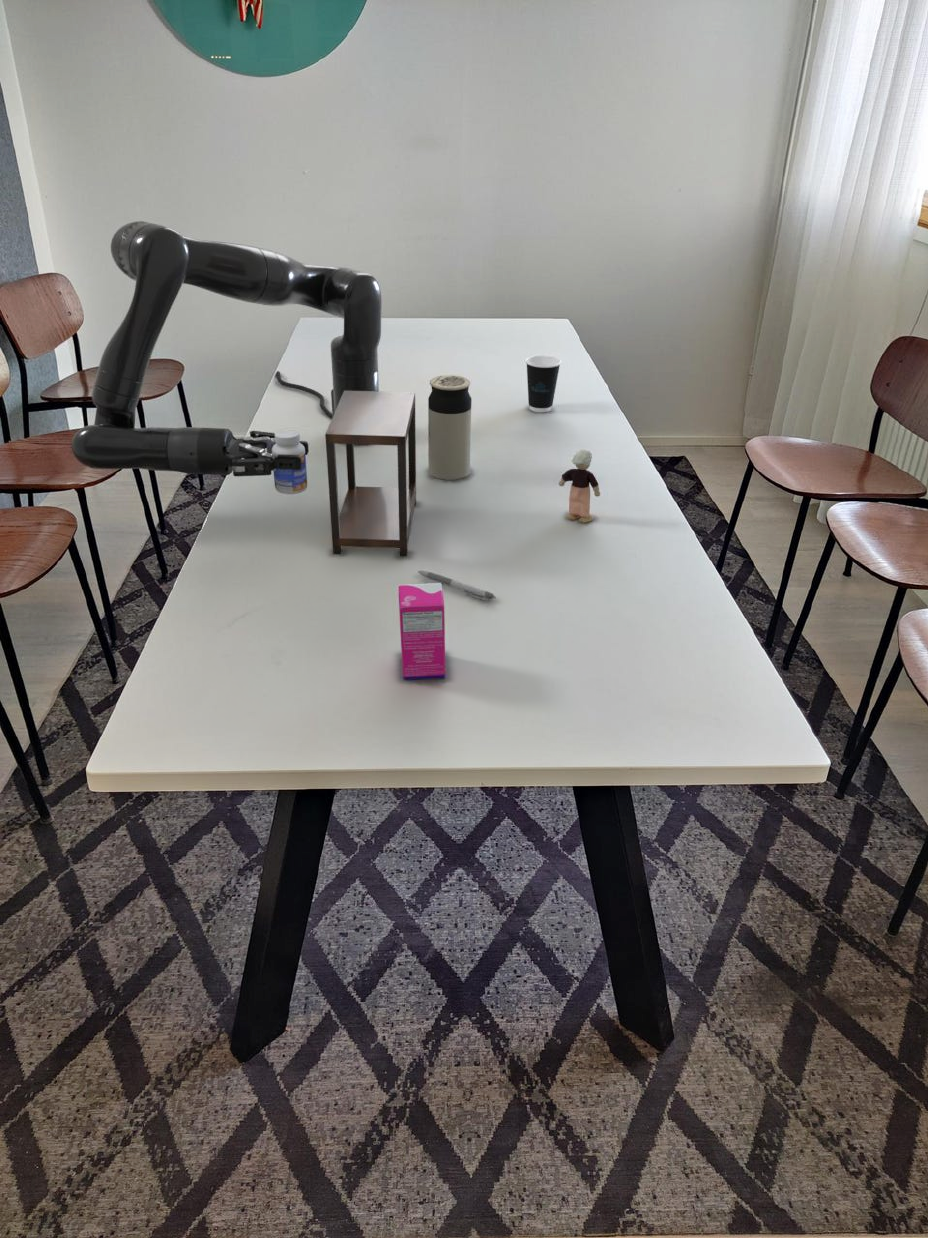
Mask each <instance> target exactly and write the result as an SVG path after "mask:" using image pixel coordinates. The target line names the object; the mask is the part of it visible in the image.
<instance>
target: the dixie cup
mask: <svg viewBox="0 0 928 1238" xmlns="http://www.w3.org/2000/svg"><path fill="white" fill-rule="evenodd" d="M524 362H525V364H526V378H527V379H526V380H527V397H528V398H527V399H528V401H527V402H528V405H529V410H530V411H532V412H534V413H548V412H550V411H552V406H553V405H554V399H555V393H556V389H557V381H558V376H559V372H560V366H561V365H562V360H561V359H559V358H558V357H555V356H550V355H533V356H529V357H527V358H526V359H525V361H524Z"/></svg>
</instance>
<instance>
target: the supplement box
mask: <svg viewBox="0 0 928 1238" xmlns="http://www.w3.org/2000/svg"><path fill="white" fill-rule="evenodd" d="M442 585H443V583H441V582H431V583H409V584H407V583H406V584H398V611H399V612H398V613H399V615H398V616H399V633H400V634H399V635H400V651H401V665H402V679H403V680H404V681H405V680H427V679H428V680H429V679H430V680H433V679H446V676H447V675H446V674H447V673H446V671H447V670H446V629H445V627H446V624H445V623H446V620H445V599H444V592H443V586H442Z"/></svg>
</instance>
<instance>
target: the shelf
mask: <svg viewBox="0 0 928 1238" xmlns="http://www.w3.org/2000/svg"><path fill="white" fill-rule="evenodd" d="M416 425H417V423H416V392H409V391H408V392H407V391H406V392H405V391H379V392H378V391H345V390H344V392H343V394H342V397H341V399H340V401H339V404H338V406H337V408H336V411H335V413H334V415H333V418H331V420H330V422H329V424H328V427H327V429H326V432H325V434H324V435H325V437H324V438H325V451H326V452H325V453H326V467H327V481H328V496H329V512H330V527H331V542H332V543H331V544H332V555H341V554H342V547H349V548H374V549H375V548H377V549H379V548H380V549H399V557H402V558H403V557H404V558H406V557H408V554H409V553H408V551H409V550H408V545H409V539H410V533H411V528H412V522H413V516H414V512H415V511H414V510H415V507H416V505H417V446H416V445H417V444H416V443H417V441H416V440H417V438H416V437H417V435H416V432H417V431H416V429H417V428H416V427H417V426H416ZM354 444H359V445H362V446H363V445H365V446H366V445H367V446H370V445H371V446H396V447H397V487H389V486H388V487H387V486H357V484H356V465H355V445H354ZM336 445H345V454H346V473H347V492H346V493H345V494H346V495H345V498H344V501H343V504H342V506H341V510H340V505H339V502H340V501H339V488H338V487H339V486H338V472H337V471H338V469H337V453H336ZM407 447H408V448H407ZM407 451H408V453H407ZM407 454H408V460H407ZM407 461H408V487H407Z"/></svg>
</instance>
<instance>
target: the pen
mask: <svg viewBox="0 0 928 1238" xmlns="http://www.w3.org/2000/svg"><path fill="white" fill-rule="evenodd" d="M417 573H418V574H419V575H421V576H422V577H424V578H427V579H430V580H432V581H435V582H437V583H441V584H444V585H447V586H450V587H453V588H457V589H460V590H463V592H464V593H466V594H467V595H469V596H471V597H473V598H476V599H479V600H483V601H490V600H492V599H496V597H497V596H496V595H495V594H494V593H492V592H490V591H487V590H484V589H481V588H479V587H475V586H472V585H469V584H466V583H463V582H460V581H458V580H455V579H453V578H450V577H448V576H447V577H446V576H445V575H441V574H439V573H435V572H431V571H427V570H421V569H420V570H417Z"/></svg>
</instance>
